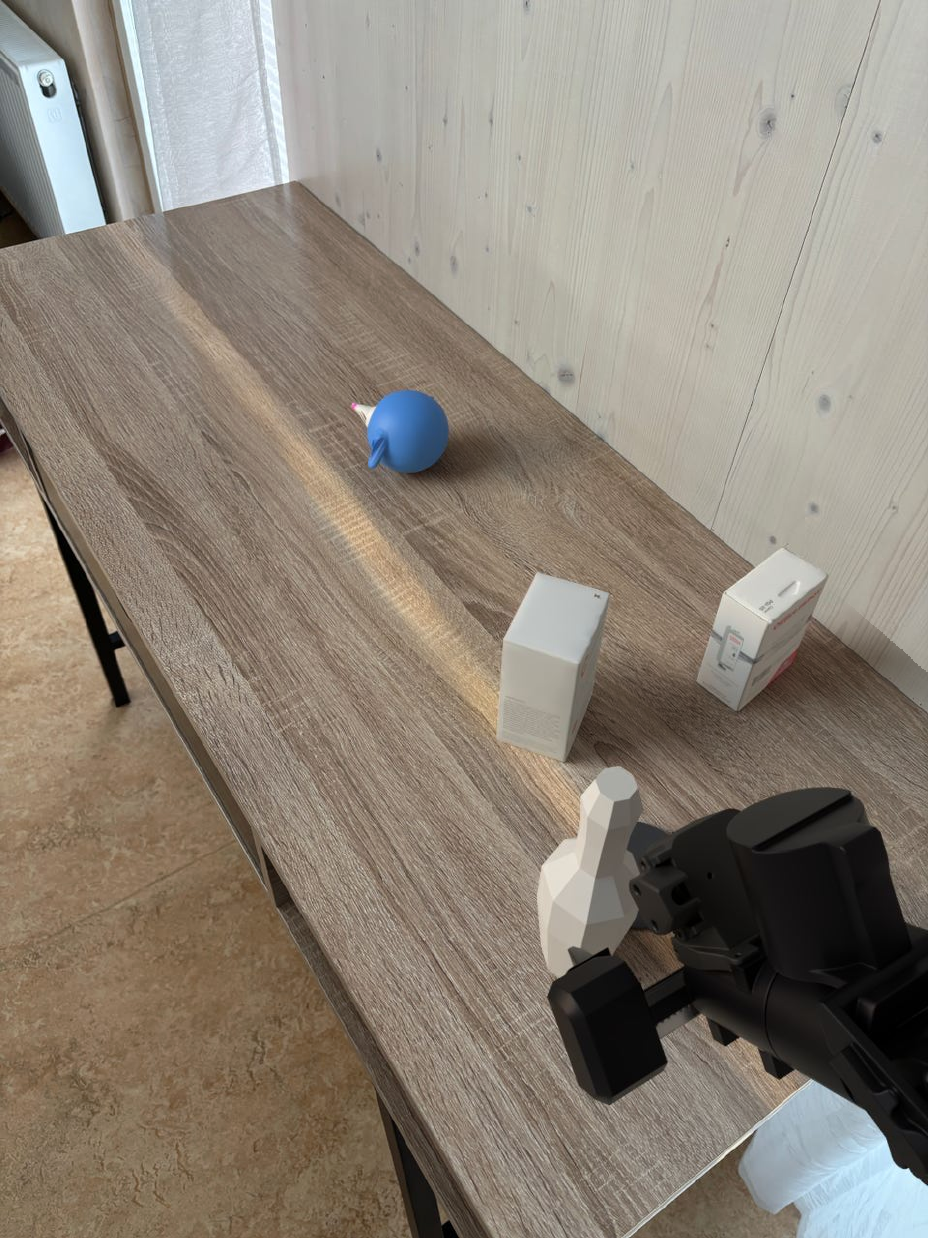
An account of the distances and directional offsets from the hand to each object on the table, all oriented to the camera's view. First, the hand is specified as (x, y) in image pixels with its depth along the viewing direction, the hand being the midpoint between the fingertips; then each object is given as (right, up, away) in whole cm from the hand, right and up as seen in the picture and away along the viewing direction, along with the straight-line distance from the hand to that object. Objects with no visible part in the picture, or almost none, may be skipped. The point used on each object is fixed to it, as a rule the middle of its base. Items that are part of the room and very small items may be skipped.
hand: (635, 919), depth 61 cm
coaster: (+3, -1, +16) cm, 16 cm away
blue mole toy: (-18, +36, +50) cm, 64 cm away
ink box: (+15, +13, +30) cm, 36 cm away
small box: (-3, +10, +26) cm, 28 cm away
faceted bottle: (-2, -6, +12) cm, 14 cm away
